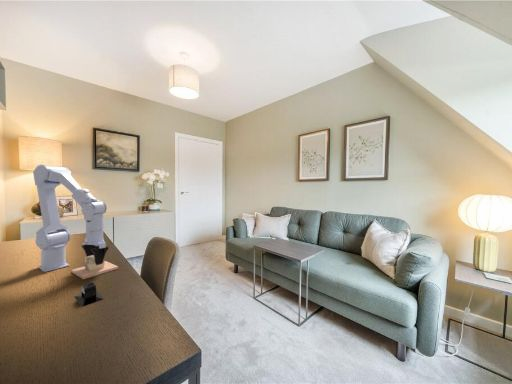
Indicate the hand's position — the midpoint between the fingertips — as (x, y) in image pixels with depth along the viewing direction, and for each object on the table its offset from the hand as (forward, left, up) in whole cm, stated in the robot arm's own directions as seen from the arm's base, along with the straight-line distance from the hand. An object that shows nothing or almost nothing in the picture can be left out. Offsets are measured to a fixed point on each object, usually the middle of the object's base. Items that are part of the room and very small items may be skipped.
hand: (95, 262), depth 86 cm
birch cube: (0, 0, -2) cm, 2 cm away
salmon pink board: (0, 0, -3) cm, 3 cm away
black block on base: (+23, -10, -4) cm, 26 cm away
